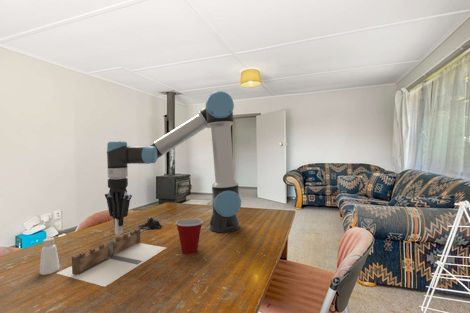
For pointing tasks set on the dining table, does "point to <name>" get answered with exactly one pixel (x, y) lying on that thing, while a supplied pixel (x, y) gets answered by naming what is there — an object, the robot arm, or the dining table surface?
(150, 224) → the stuffed animal
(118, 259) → the card
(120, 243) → the wooden notched wall
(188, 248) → the plastic cup
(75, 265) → the fence fixed
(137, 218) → the dining table surface
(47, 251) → the salt shaker
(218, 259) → the dining table surface
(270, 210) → the dining table surface
